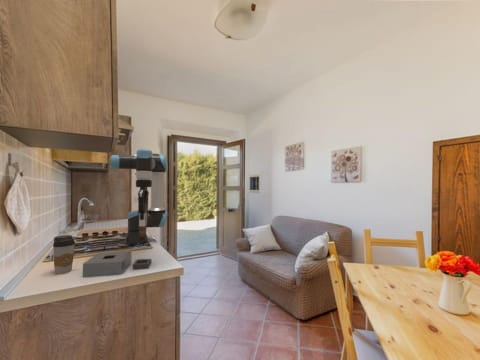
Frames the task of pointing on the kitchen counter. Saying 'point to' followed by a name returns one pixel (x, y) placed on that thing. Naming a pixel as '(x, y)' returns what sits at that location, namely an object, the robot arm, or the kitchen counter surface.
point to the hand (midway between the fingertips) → (143, 225)
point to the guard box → (107, 264)
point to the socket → (141, 264)
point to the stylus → (143, 228)
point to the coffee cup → (63, 255)
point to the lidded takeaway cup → (61, 238)
